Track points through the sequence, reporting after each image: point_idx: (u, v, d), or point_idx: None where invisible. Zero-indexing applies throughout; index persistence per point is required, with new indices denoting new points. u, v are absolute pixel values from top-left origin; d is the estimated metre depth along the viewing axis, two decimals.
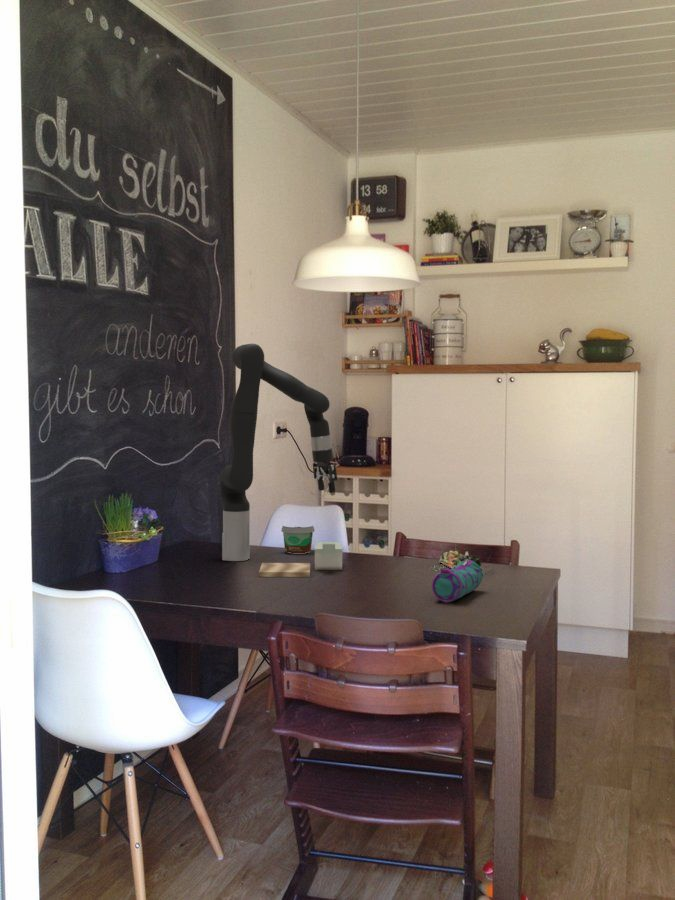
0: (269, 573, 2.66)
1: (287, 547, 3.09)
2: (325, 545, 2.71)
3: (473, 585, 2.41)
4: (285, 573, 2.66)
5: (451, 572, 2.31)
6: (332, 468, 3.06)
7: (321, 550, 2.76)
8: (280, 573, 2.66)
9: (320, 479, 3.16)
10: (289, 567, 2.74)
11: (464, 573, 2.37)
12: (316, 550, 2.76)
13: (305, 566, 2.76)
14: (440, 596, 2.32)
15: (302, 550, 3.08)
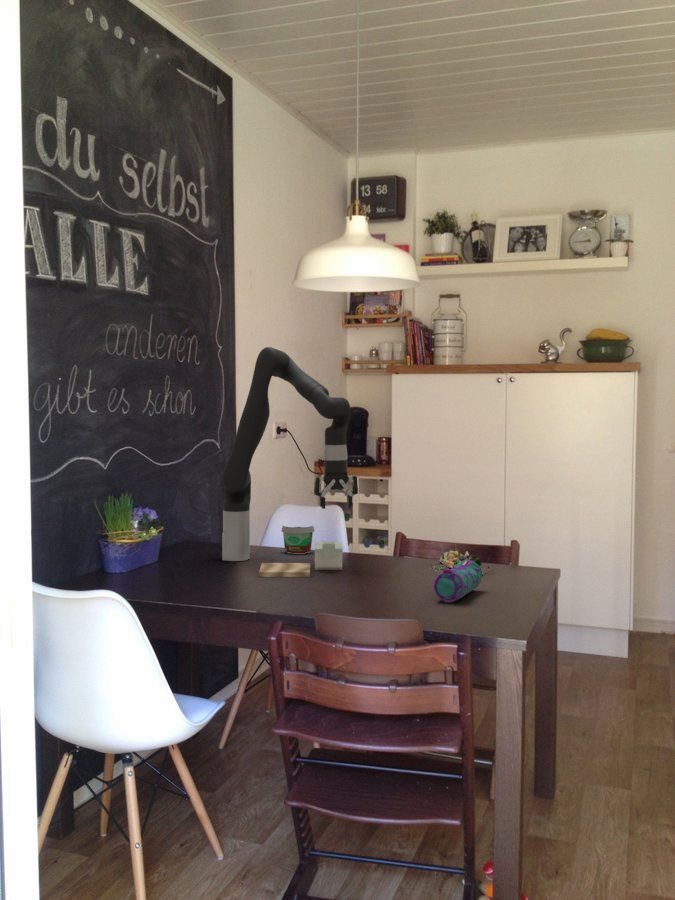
0: (269, 573, 2.66)
1: (287, 547, 3.09)
2: (325, 545, 2.71)
3: (473, 585, 2.41)
4: (285, 573, 2.66)
5: (453, 572, 2.31)
6: (315, 480, 2.76)
7: (321, 550, 2.76)
8: (280, 573, 2.66)
9: (348, 494, 2.78)
10: (289, 567, 2.74)
11: (465, 573, 2.37)
12: (316, 550, 2.76)
13: (305, 566, 2.76)
14: (442, 596, 2.32)
15: (302, 550, 3.08)
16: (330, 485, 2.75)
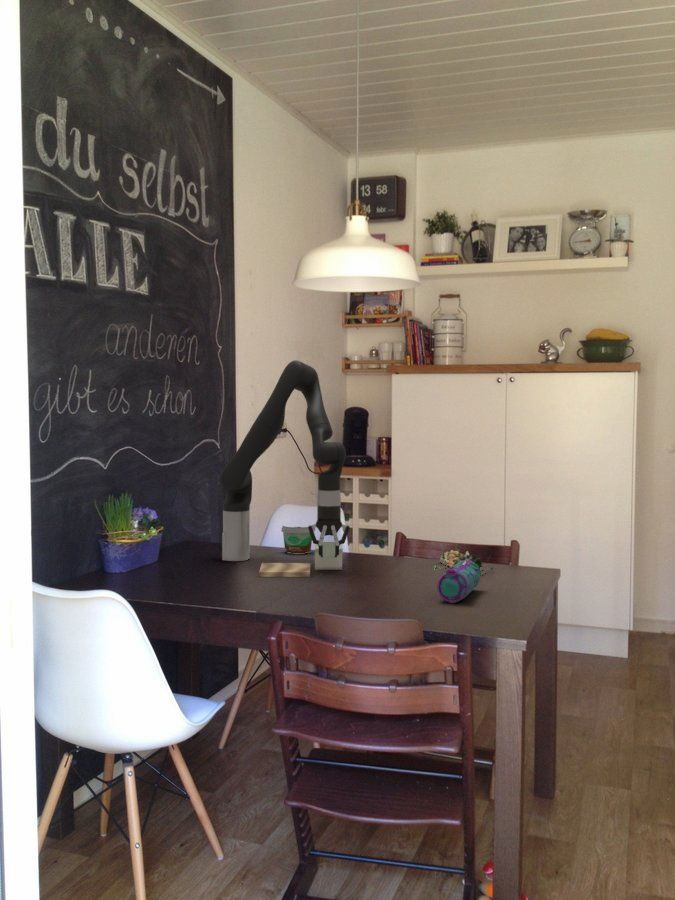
0: (269, 573, 2.66)
1: (287, 547, 3.09)
2: (325, 545, 2.71)
3: (474, 585, 2.41)
4: (285, 573, 2.66)
5: (457, 572, 2.31)
6: None
7: None
8: (280, 573, 2.66)
9: (335, 544, 2.74)
10: (289, 567, 2.74)
11: (467, 573, 2.37)
12: (316, 550, 2.76)
13: (305, 566, 2.76)
14: (446, 597, 2.31)
15: (302, 550, 3.08)
16: (323, 531, 2.72)
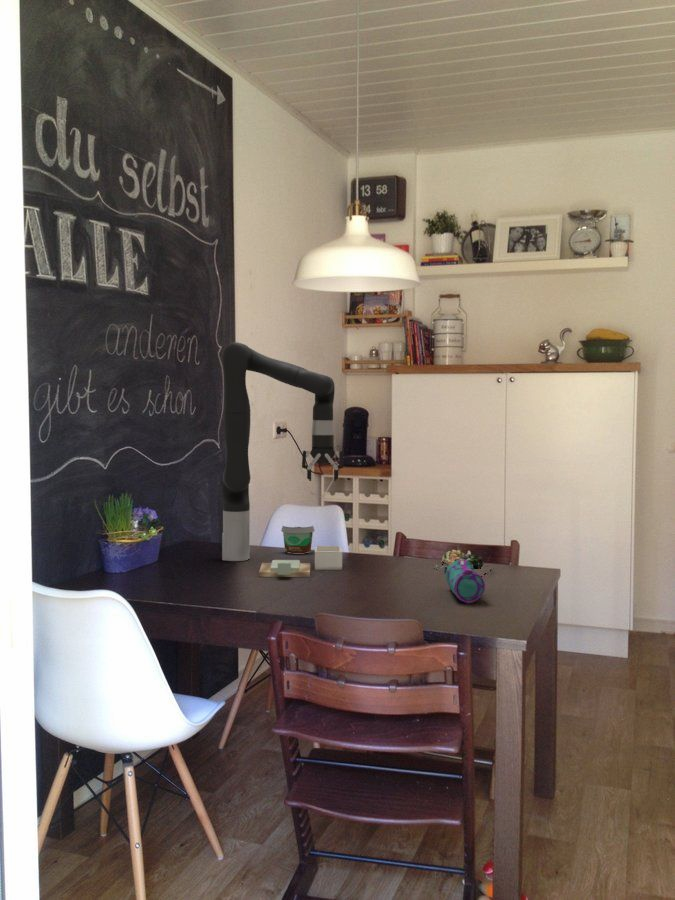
0: (269, 573, 2.66)
1: (287, 547, 3.09)
2: (280, 564, 2.62)
3: None
4: None
5: (474, 572, 2.31)
6: None
7: (277, 569, 2.67)
8: None
9: (334, 468, 2.91)
10: None
11: None
12: (272, 569, 2.67)
13: (305, 566, 2.76)
14: (464, 597, 2.30)
15: (302, 550, 3.08)
16: (315, 458, 2.89)
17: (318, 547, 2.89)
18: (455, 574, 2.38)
